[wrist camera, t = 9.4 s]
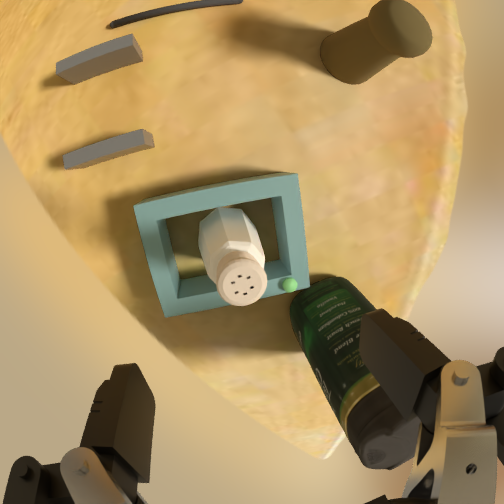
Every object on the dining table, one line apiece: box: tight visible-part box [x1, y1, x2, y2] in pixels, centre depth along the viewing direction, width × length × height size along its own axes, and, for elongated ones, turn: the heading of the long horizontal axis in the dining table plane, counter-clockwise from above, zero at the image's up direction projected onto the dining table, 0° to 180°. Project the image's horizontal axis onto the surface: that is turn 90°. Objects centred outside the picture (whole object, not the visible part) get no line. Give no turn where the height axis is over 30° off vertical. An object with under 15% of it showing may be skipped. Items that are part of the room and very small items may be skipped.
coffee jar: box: [290, 277, 421, 470], centre depth 21 cm, size 10×8×19 cm
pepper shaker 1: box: [198, 207, 267, 306], centre depth 20 cm, size 5×5×11 cm
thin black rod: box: [110, 0, 243, 28], centre depth 17 cm, size 13×1×1 cm, turn 99°
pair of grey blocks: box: [56, 34, 154, 170], centre depth 18 cm, size 10×7×4 cm
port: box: [133, 172, 310, 318], centre depth 23 cm, size 10×13×4 cm
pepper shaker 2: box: [320, 0, 432, 84], centre depth 17 cm, size 6×6×11 cm
